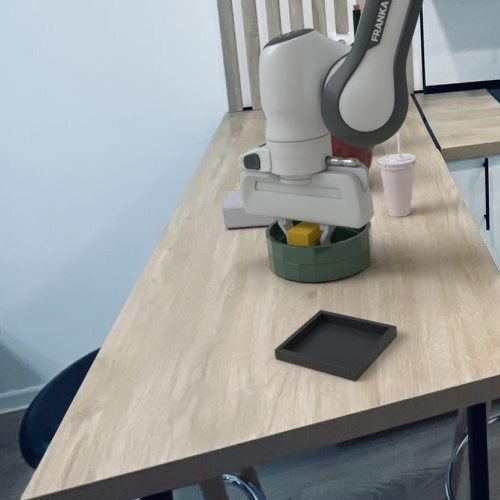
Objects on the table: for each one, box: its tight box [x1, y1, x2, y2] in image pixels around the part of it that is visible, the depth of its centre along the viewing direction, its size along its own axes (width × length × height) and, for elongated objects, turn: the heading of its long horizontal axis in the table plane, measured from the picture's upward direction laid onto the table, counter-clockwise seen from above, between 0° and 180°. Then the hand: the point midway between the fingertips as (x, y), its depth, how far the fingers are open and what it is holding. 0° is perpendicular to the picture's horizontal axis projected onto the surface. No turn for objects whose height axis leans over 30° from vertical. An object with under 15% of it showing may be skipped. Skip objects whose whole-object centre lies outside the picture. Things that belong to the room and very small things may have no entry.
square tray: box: [273, 309, 398, 382], centre depth 75 cm, size 10×10×2 cm
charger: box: [222, 189, 278, 229], centre depth 118 cm, size 5×9×15 cm
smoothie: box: [377, 132, 418, 218], centre depth 110 cm, size 6×6×14 cm
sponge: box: [287, 221, 324, 246], centre depth 95 cm, size 4×5×6 cm
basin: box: [265, 220, 374, 283], centre depth 97 cm, size 15×15×6 cm
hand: (308, 247), depth 95 cm, fingers closed on sponge, 3 cm apart
